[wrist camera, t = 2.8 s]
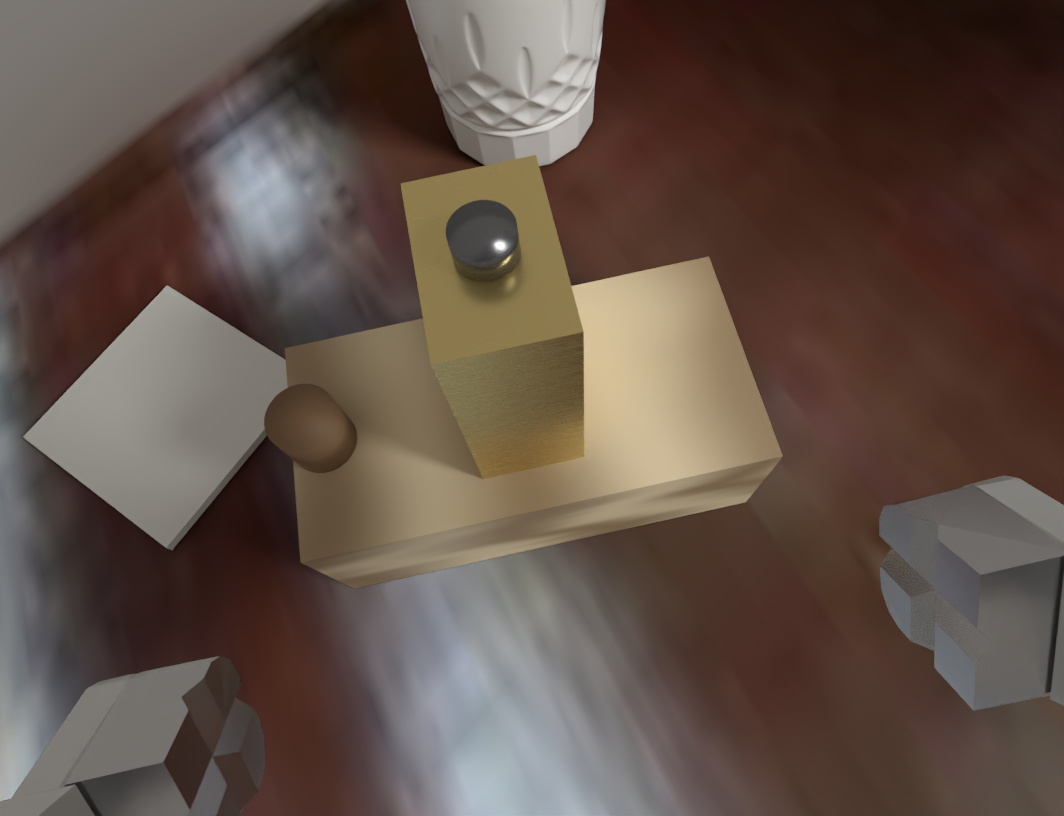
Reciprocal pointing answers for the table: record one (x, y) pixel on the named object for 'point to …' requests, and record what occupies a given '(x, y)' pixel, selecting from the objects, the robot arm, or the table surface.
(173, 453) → the mat
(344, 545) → the body
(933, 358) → the table surface
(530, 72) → the white cup
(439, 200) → the brass knob block
